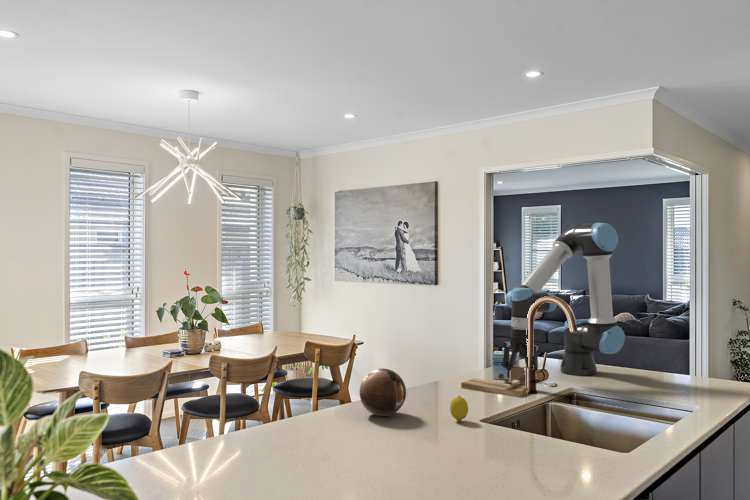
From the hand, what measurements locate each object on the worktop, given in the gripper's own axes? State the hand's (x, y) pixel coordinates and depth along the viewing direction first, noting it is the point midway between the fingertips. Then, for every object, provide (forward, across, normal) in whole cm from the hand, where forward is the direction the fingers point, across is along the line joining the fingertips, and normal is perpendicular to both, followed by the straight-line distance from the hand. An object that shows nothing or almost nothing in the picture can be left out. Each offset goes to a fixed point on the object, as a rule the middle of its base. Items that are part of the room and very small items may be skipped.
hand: (519, 388), depth 226 cm
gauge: (0, 0, -5) cm, 5 cm away
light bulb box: (+1, -13, +15) cm, 20 cm away
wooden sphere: (+2, -20, -61) cm, 64 cm away
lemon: (+1, +4, -52) cm, 52 cm away
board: (+1, -7, -7) cm, 10 cm away
